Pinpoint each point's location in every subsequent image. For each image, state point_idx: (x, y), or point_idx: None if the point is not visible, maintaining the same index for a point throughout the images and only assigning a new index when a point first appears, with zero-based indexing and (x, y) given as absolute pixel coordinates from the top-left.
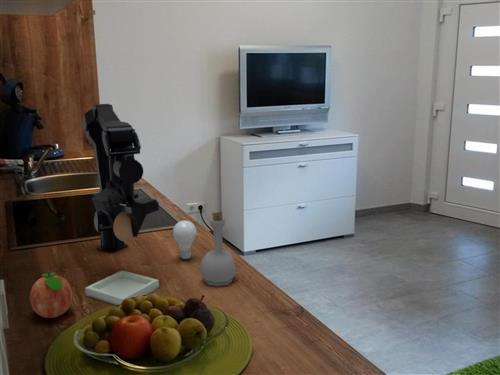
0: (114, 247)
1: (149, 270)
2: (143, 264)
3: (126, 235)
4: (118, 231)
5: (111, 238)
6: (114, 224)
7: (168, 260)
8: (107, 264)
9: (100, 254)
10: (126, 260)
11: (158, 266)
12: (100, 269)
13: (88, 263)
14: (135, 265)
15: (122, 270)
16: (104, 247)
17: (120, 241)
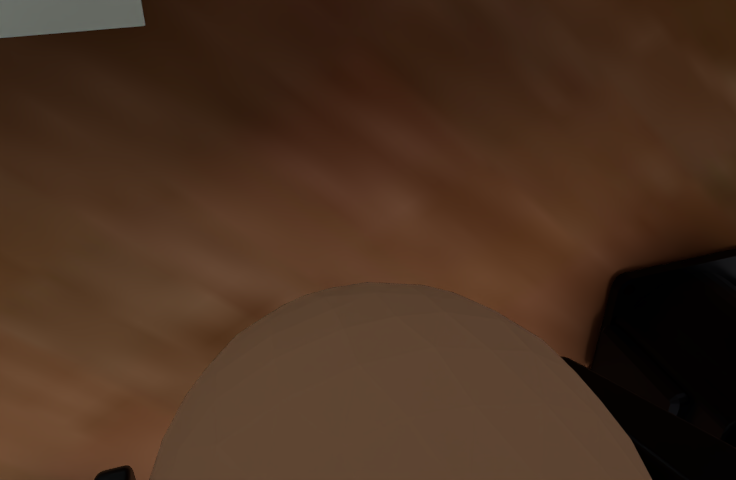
0: (636, 321)
1: (88, 274)
2: (250, 310)
3: (192, 407)
4: (351, 371)
5: (704, 360)
6: (581, 475)
7: (149, 464)
8: (514, 126)
9: (679, 211)
10: (433, 269)
11: (105, 365)
12: (496, 12)
13: (670, 40)
14: (290, 258)
15: (135, 20)
16: (704, 280)
17: (629, 385)
